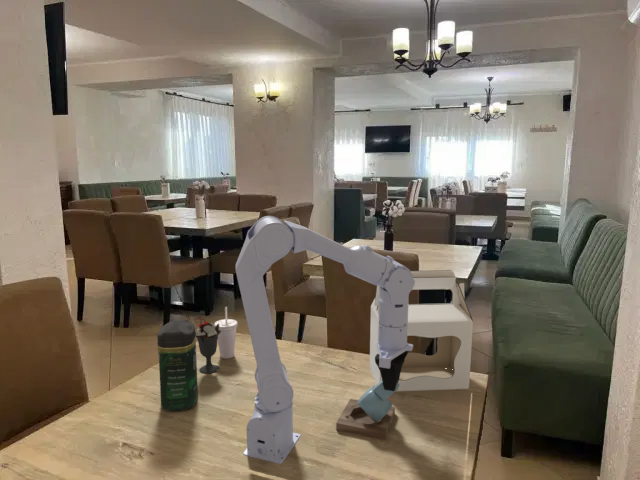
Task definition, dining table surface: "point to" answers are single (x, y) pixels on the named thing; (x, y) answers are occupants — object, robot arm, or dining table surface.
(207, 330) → the sundae
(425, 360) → the gable box
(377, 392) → the light blue piece
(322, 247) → the robot arm
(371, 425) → the holder
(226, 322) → the smoothie
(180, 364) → the coffee jar
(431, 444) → the dining table surface
